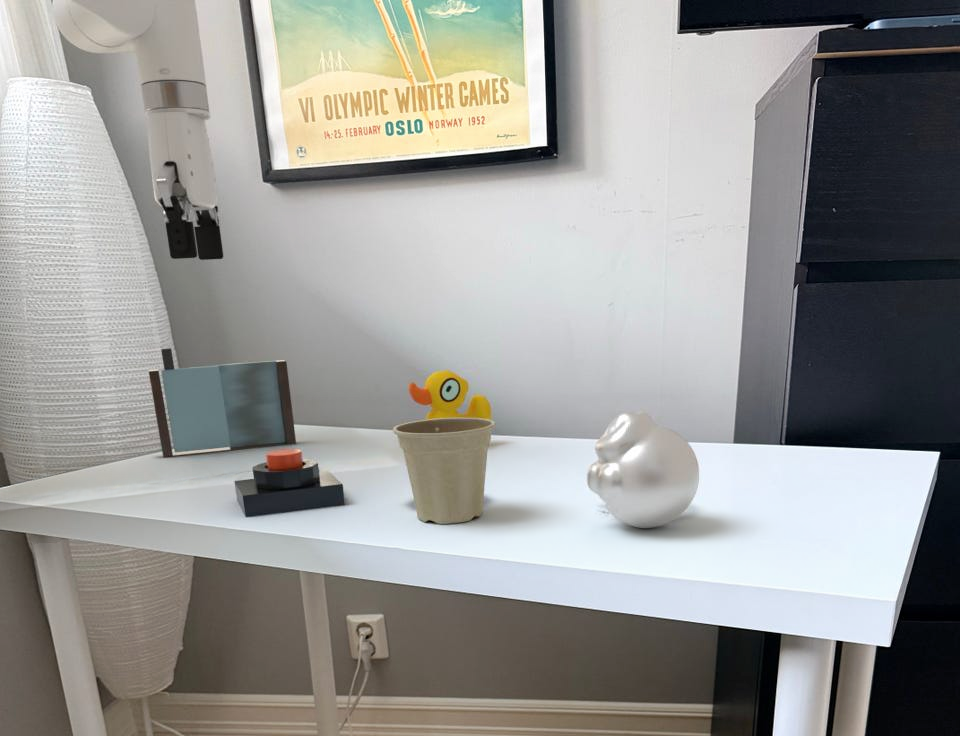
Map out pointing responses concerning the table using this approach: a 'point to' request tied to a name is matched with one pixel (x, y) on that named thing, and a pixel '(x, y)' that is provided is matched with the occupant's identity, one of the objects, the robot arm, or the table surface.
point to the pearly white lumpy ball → (643, 471)
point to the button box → (288, 490)
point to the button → (284, 459)
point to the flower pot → (446, 466)
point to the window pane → (194, 406)
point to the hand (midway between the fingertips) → (198, 258)
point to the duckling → (449, 397)
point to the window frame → (243, 407)
